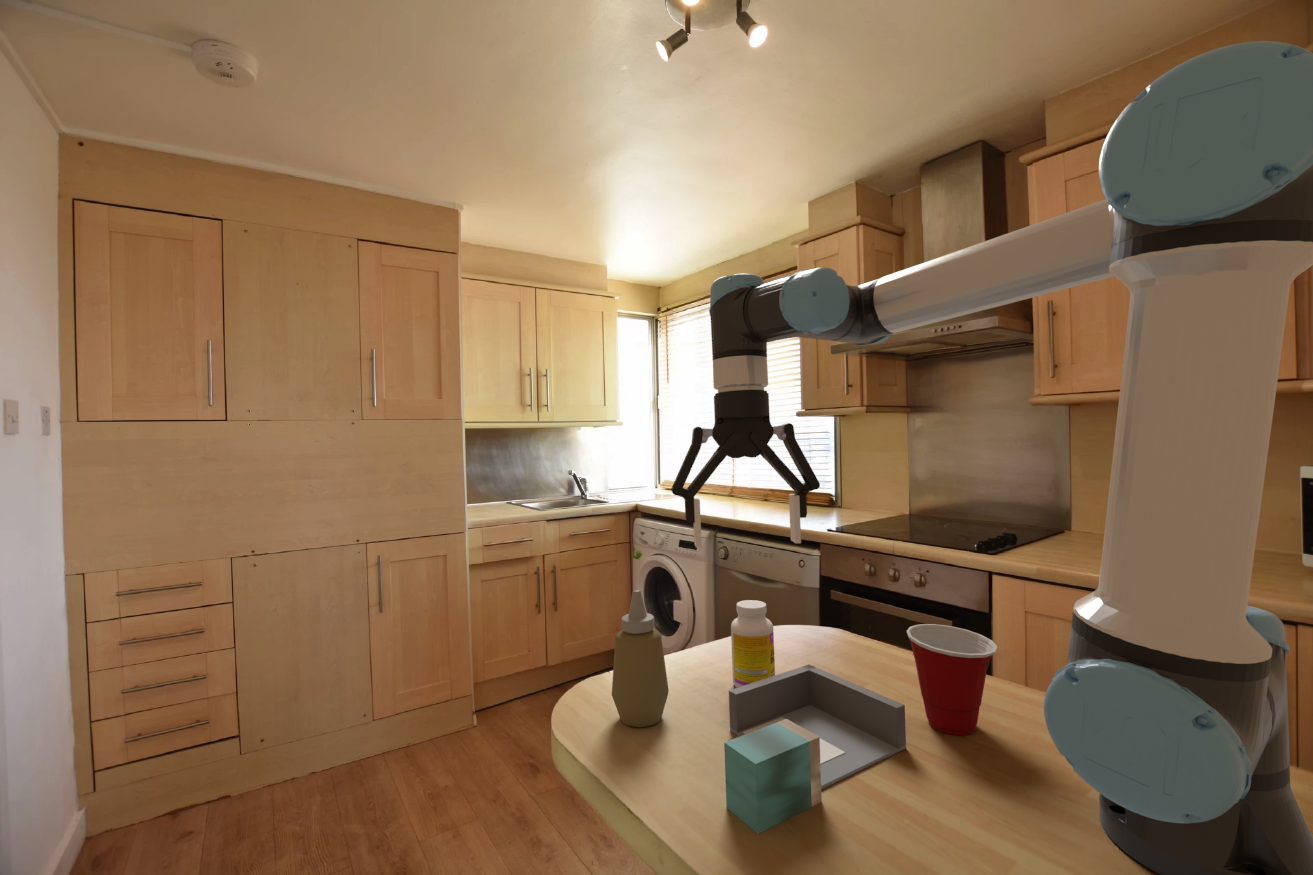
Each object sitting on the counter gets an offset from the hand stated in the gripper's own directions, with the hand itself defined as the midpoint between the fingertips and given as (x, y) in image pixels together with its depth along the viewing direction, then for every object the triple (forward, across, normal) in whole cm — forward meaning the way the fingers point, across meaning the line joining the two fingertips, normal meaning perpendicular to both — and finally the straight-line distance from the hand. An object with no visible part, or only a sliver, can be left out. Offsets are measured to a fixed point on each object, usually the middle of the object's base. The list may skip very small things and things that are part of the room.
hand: (747, 544), depth 81 cm
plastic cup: (+25, -26, +4) cm, 36 cm away
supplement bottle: (+25, -2, -11) cm, 27 cm away
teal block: (+25, +1, +18) cm, 31 cm away
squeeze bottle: (+25, +16, -2) cm, 29 cm away
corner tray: (+24, -7, +6) cm, 26 cm away
